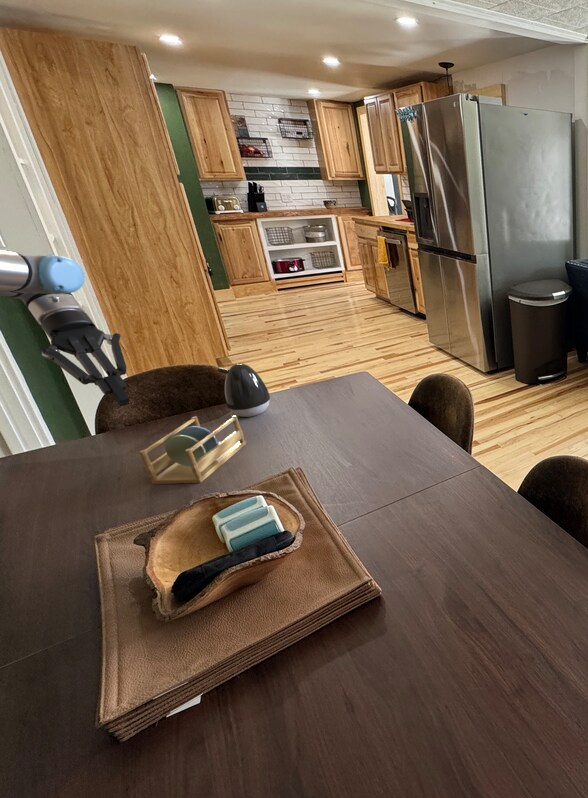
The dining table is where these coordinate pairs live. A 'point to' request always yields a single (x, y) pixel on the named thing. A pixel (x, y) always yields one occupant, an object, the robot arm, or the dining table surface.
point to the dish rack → (192, 453)
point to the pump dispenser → (245, 391)
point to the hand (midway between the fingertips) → (124, 402)
